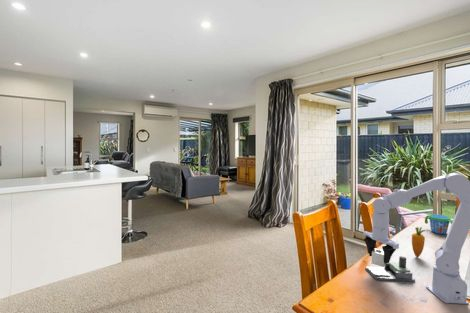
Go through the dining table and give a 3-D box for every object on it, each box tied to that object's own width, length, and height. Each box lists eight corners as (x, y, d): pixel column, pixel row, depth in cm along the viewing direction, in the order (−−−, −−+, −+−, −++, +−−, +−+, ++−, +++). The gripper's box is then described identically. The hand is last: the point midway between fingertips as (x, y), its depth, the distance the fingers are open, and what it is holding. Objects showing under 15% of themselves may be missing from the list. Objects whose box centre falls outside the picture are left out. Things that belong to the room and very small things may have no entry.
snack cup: (419, 228, 161) (420, 213, 160) (432, 227, 163) (433, 212, 162) (444, 237, 145) (446, 220, 145) (458, 236, 148) (459, 219, 147)
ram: (410, 275, 99) (410, 261, 99) (397, 274, 99) (398, 260, 99) (400, 267, 105) (401, 254, 105) (389, 267, 105) (390, 254, 105)
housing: (384, 266, 99) (384, 254, 99) (371, 263, 102) (371, 251, 102) (385, 262, 103) (385, 250, 103) (373, 259, 106) (373, 247, 105)
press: (415, 282, 98) (415, 273, 97) (375, 280, 98) (376, 272, 98) (400, 270, 107) (401, 262, 107) (365, 268, 108) (365, 261, 107)
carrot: (418, 255, 122) (419, 225, 121) (426, 259, 117) (428, 228, 116) (408, 255, 122) (409, 225, 121) (415, 259, 117) (417, 228, 116)
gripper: (404, 231, 97) (402, 265, 97) (371, 220, 110) (370, 250, 111) (392, 233, 94) (390, 268, 95) (360, 222, 107) (358, 252, 108)
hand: (378, 259), depth 103 cm, fingers closed on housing, 6 cm apart
